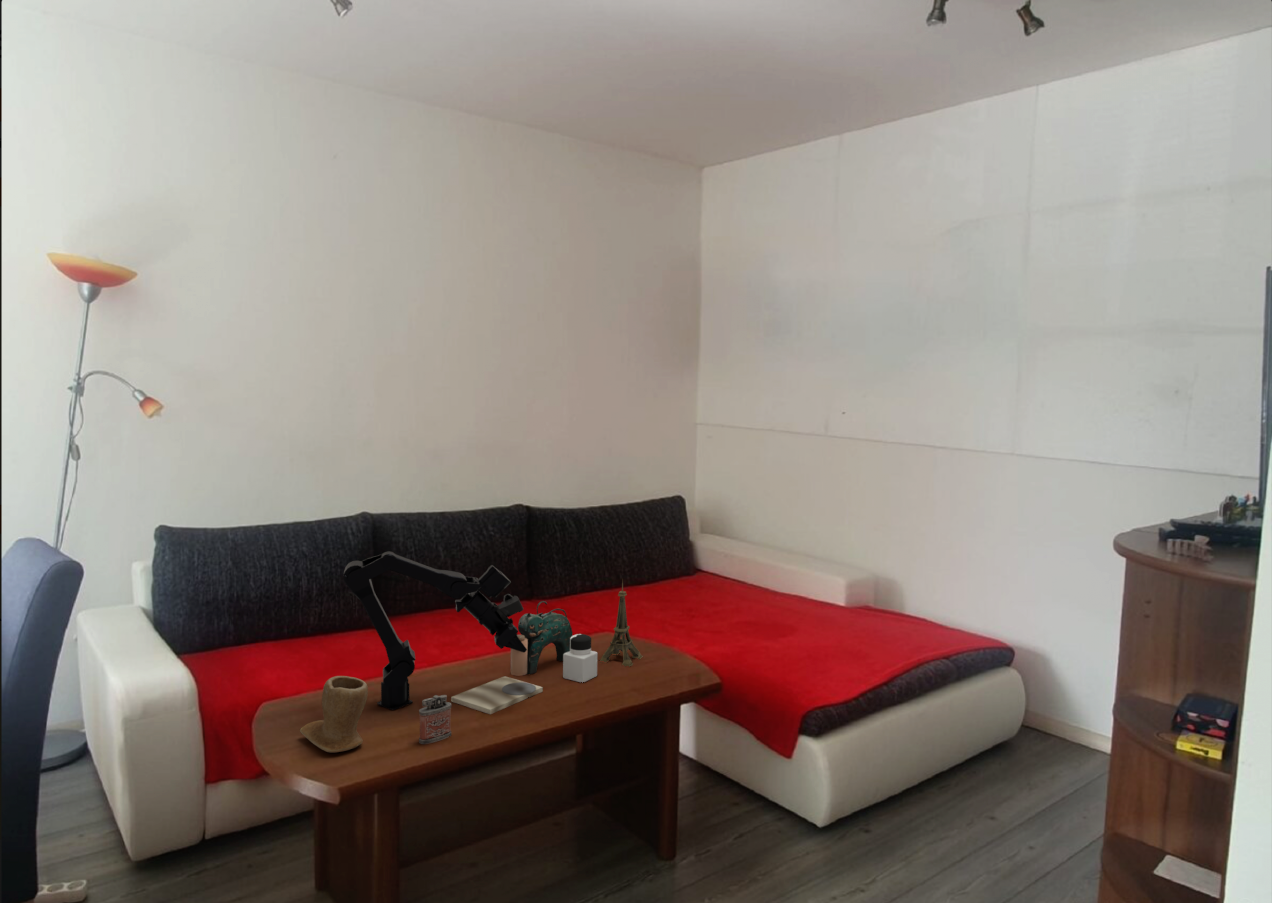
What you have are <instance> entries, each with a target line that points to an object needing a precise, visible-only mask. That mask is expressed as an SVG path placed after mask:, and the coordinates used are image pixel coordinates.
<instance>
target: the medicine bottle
mask: <svg viewBox="0 0 1272 903" xmlns="http://www.w3.org/2000/svg"><path fill="white" fill-rule="evenodd" d="M597 676H598V652H597V651H595V650H592V637H591V636H590V635H588V634H584V633H576V634H574V635H573V634H572V636H571V638H570V651H569V652H567V653H564V654H563V662H562V677H563V679H566V680H571V681H574V682H579V683H581V682H582V683H581V684H583V682H584V683H585V682H588V681H590V680H591V679H594V678H596V677H597Z"/></svg>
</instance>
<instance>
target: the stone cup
mask: <svg viewBox="0 0 1272 903" xmlns="http://www.w3.org/2000/svg"><path fill="white" fill-rule="evenodd" d="M368 687H369V686H368V684H367V683H366V682H365V681H364V680H362V679H360V678H357V677H353V676H348V675H335V676H332V677H330V678H328V679H327V680H326V681H325V683H324V685H323V689H322V697H321V709H322V715H323V719H321V720H314V721H311V722H308V723H307V724H304V725H303V726H302V727H301V728H300V729H299V732H300V733H301V735H303V736H304V738H306V739H307V740H308V741H309V742H310V743H312V744H313V745H314V746H316V747H317V748H318V749H320V750H322V751H323V752H327V753H335V754H336V753H339V752H340V753H341V752H346V751H350V750H353V749H356V748H357V747H358V746H361V744H363V741H364V740H363V738H362V736H361V735H360V734H359V732H358V731H357V727H358V722H359V720H360V718H361V714H362V712H363V710H364V708H365V706H366V703H367V700H368V693H369V691H368V690H369V688H368Z"/></svg>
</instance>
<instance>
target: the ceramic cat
mask: <svg viewBox="0 0 1272 903" xmlns="http://www.w3.org/2000/svg"><path fill="white" fill-rule="evenodd" d="M542 603H544V604H545V605H546V606H547V605H548V603H547V601H546V600H545V601H544V600H542V601H540V602H538V603H537V605H536V614H534V613H533V614H532V613H530V612H528V613H524V614H523V615H522V616H521V617H520V618H519V619H518V624H517V630H518V633H519V635H524V636H525V638H526V639H528V649H527V674H526V675H529V674H530V675H532V674H536V673H537V670H538V666H539V665H538V664H539V659H540V657H541V654H542V652H543V650H544V648H546V647H547V646H549V645H551V644H553V645H554V647H555V652H556V660H557V661H558V660H559V662H561V661H563V654H564V653H567V652H569V651H570V638H571V636H573V629H572V625H571V623H570V620H569V618H568V617H567V616H568V615H567V612H566V611H565V609H561V608H554V609H552V610H550V611H549V612H547V613H546V612H545V613H544V612H541V613H539V611H538V610H539V606H540V605H541V604H542ZM554 611H561V612H563V613H564V615H563V614H562V613H561V614H560V613H556V612H554Z"/></svg>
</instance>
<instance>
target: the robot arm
mask: <svg viewBox="0 0 1272 903" xmlns="http://www.w3.org/2000/svg"><path fill="white" fill-rule="evenodd" d="M387 571H392V572H395V573H397V574H400V575H404V576H406V577H409V578H412V579H413V580H417V581H420V582H423V583H426V584H428V585H431V586H433V587H434V588H436V589H437V590H439V591H440V592H442V593H443V594H445V595H446V596H448V597H450V598H451V599H454V600H455V601H454V602H455V610H456V612H457V613H460V612H461V611H462V610H463V609H465V610H466V611H467V612H468V613H470V615H472V616H473V618H474V619H476V620H477V621H478V624H479V625H480V626H483V627H484V628H485V629H486V630H488V632H489V634H490V635H491V636H494V638H493V639H494V640H493V641H494V643H495V645H496V647H498V648H499V649H500V650H503V649H504V648H507V649H510V650H511V649H514V650H517V651H520V652H526V651H527V649H526V647H525V646H524V645H523V643H522V642H521V640H520V639H519V638H518V636H517V635H519V631H518V626H515V625H514V620H513V618H512V617H511V616H513V615H515V614H517V613H521V612H523V611H524V607H523V604H522V602H521V601H520V598H519V597H518V596H517V595H511V594H510V593H507V594H505V595H503V601H501V602H500V604H497V603H496V602H491V600H489V599H488V598H490V599H491V598H492V599H493V598H497V597H498V596H499V595H500V594H501V593H502V592H503V591H504V590H505V589H506V588H507V587H508V586H509V585H510V584H511V583H512V582H511V580H510V579H509V578H508V577H507V575H505V574H504V573H503V572H502V571H501V570H499V569H498V568H496V567H495V566H494V565H493V564H491V565H490V566H488V568H487V570H485V572H483V574H482V575H481V576H480V577H479V578H478V577H476V576H475V577H474V576H465V575H464V574H463V573H461V572H458V571H454V570H447V569H446V570H445V569H438V568H434V567H431V566H427V565H425V564H423V563H420V562H417V561H414V560H412V559H409V558H407V557H405V556H401V555H399V554H396V553H394V552H393V551H389V550H388V551H384V552H383V553H380V554H378V555H375V556H371V557H368V558H365V559H363V560H353V561H350V562H348V564H346V566H345V568H344V571H343V578H342V579H343V582H344V584H345V585H346V586H347V588H348V589H349V590H350V592H351V593H352V594H353V595H354V596H355V597H356V598H357V599H358V600H359V601H360V603H361V604H362V606H363V608H364V610H365V612H366V614H367V616H368V618H369V619H370V622H371V623H372V625H373V627H374V629H375V631H376V633H377V634H378V635H377V636H378V637H379V639H380V640H381V642H382V644H383V646H384V647H385V651H386V656H387V660H388V663H387V664H386V665H385V666H384V667H383V668H382V681H381V683H380V701H377V702H376V705H377V706H380V707H381V708H382V707H383V708H385V709H388V710H391V711H395V710H398V709H400V708H403V707H405V706H408V705H412V704H413V700H411V699H410V683H409V678H408V677H410V676H411V675H412V674H413V673H414V671H415V668H416V665H415V661H416V653H415V650H413V649H412V648H411V647H412V646H411V645H410V642H409V640H408V639H406V640H404V641H403V640H401V639H400V637H399V636H398V635H397V632H396V630H395V628H394V626H393V625H392V623H391V621H390V620H389V617H388V616H387V613H386V612H385V610H384V608H383V605H382V604H381V601H380V599H379V598H378V596H377V595H376V592H375V590H374V586H373V582H372V579H373V578H376V577H377V576H379V575H382V574H383V573H384V572H387ZM481 591H482V592H483V593H484V594H485V595H484V594H483V593H482V592H481ZM486 596H487V597H488V598H487V597H486ZM509 617H510V618H509Z"/></svg>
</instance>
